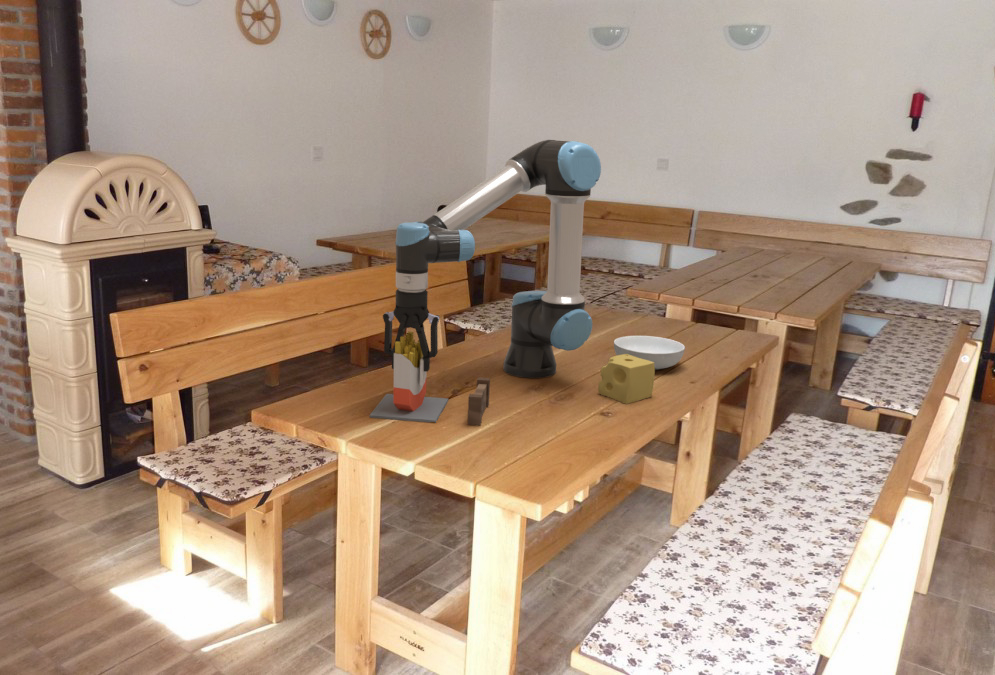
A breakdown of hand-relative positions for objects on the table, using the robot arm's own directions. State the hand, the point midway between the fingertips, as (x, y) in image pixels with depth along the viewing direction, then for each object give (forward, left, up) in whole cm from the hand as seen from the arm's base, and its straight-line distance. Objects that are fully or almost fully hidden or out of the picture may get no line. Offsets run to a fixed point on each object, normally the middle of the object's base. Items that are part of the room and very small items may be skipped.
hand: (410, 382), depth 202 cm
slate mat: (0, 0, -7) cm, 7 cm away
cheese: (-23, +53, -7) cm, 58 cm away
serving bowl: (-53, +60, -7) cm, 80 cm away
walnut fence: (0, +17, -7) cm, 18 cm away
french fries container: (0, 0, -6) cm, 6 cm away
